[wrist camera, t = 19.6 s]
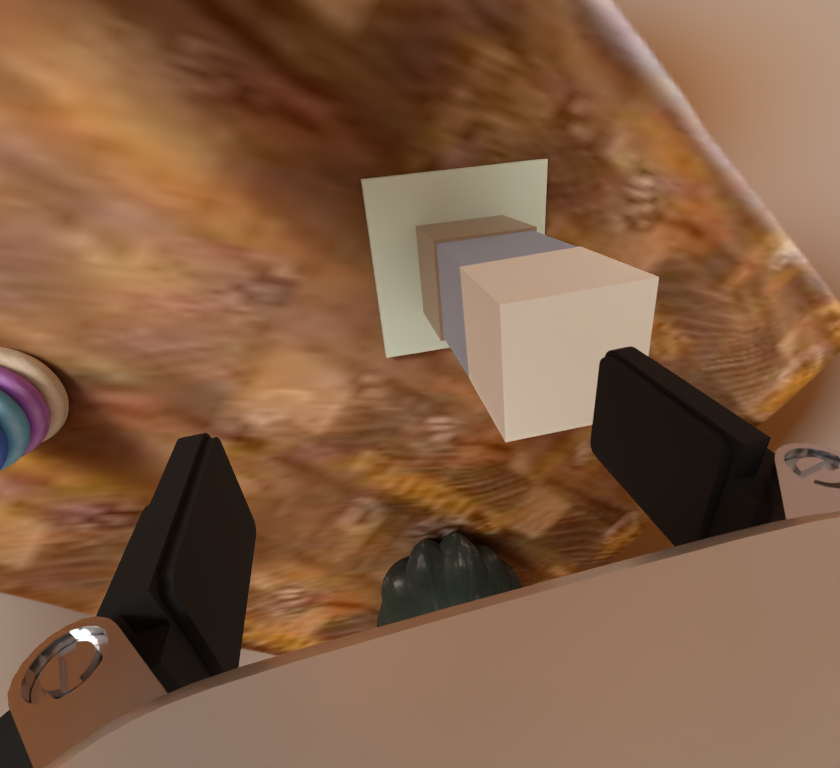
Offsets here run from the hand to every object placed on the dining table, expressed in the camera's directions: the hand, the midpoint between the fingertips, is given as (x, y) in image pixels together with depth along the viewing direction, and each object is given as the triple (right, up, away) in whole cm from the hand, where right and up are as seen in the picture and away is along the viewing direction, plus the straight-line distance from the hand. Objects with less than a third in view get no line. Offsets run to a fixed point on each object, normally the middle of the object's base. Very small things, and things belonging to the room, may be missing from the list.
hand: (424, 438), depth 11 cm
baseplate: (+3, +11, +23) cm, 26 cm away
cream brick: (+5, +5, +12) cm, 14 cm away
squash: (+2, -19, +39) cm, 43 cm away
